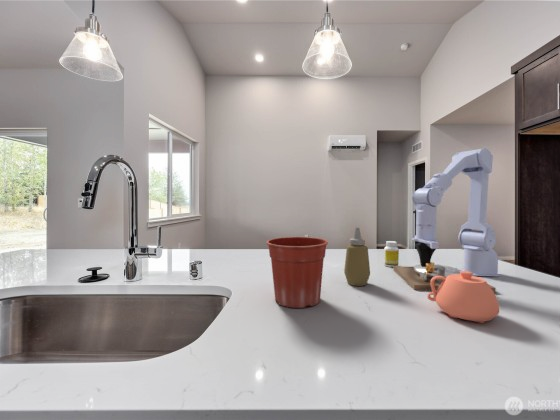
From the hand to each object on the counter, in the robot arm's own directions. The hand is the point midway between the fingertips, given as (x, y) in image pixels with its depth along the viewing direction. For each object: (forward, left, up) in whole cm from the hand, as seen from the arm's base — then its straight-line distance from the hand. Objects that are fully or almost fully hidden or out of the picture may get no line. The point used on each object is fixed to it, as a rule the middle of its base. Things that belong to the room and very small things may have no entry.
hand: (425, 266), depth 88 cm
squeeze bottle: (+22, +5, -5) cm, 23 cm away
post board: (-5, -2, -5) cm, 7 cm away
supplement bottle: (+5, -20, -5) cm, 22 cm away
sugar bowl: (+1, +25, -5) cm, 25 cm away
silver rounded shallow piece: (-4, -1, -2) cm, 5 cm away
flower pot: (+40, +21, -5) cm, 46 cm away
